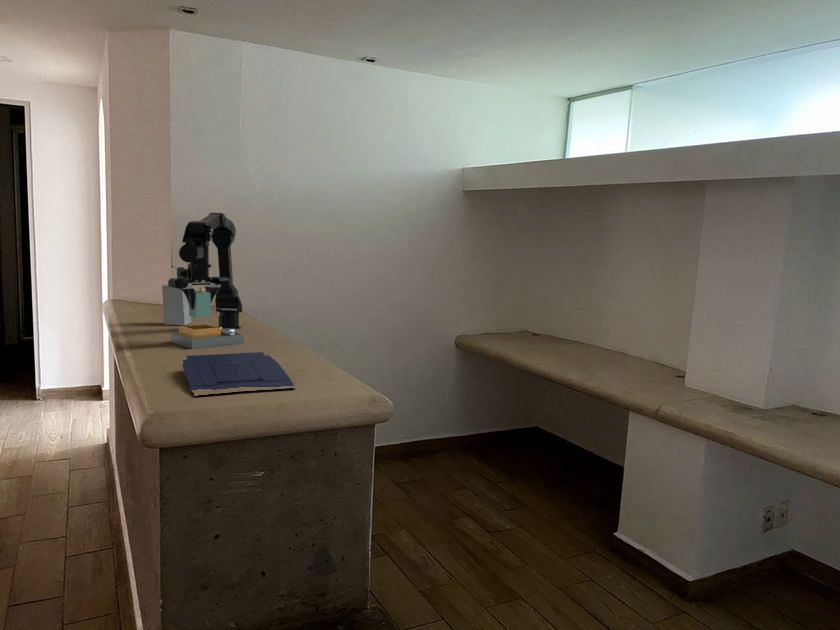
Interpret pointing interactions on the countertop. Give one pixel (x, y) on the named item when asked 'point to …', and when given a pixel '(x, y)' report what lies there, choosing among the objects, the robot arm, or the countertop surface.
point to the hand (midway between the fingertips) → (199, 308)
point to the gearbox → (205, 336)
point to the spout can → (201, 304)
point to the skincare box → (175, 306)
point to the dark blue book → (234, 371)
